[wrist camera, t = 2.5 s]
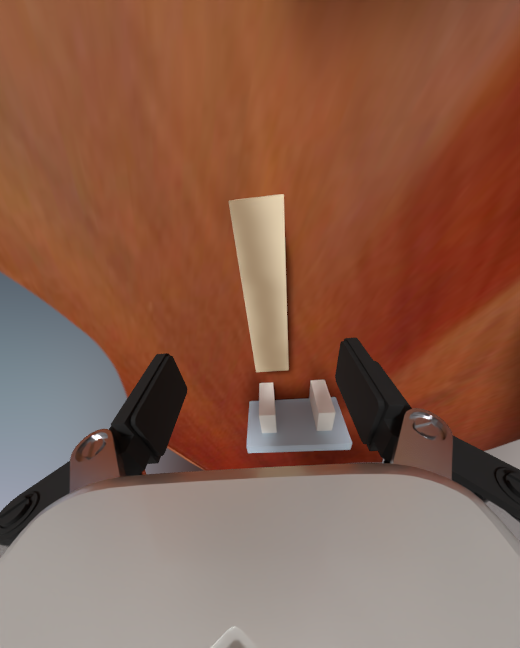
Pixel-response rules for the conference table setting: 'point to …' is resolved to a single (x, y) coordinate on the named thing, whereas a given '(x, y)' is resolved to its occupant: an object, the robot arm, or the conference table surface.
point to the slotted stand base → (296, 422)
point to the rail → (263, 276)
